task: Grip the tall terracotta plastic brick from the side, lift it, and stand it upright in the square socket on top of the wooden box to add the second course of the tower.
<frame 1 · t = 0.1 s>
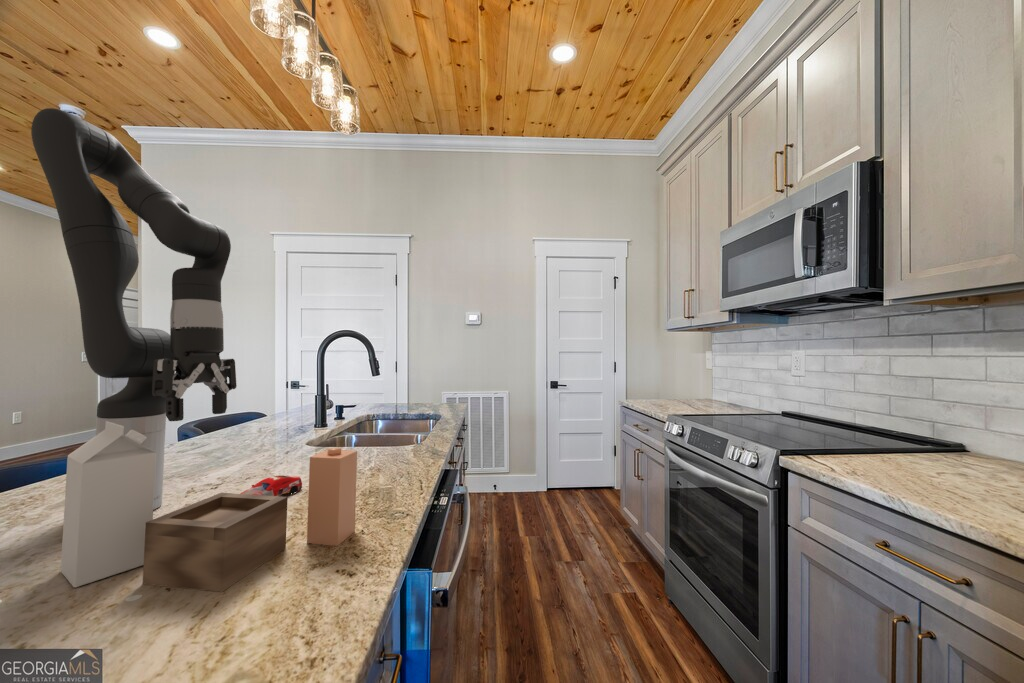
hand: (198, 417, 71), 17 cm above the countertop, tool pointing down, fingers open, 8 cm apart
milk carton: (106, 569, 53), on the countertop
race car: (269, 500, 79), on the countertop
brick: (331, 537, 62), on the countertop
wooden box: (220, 564, 54), on the countertop
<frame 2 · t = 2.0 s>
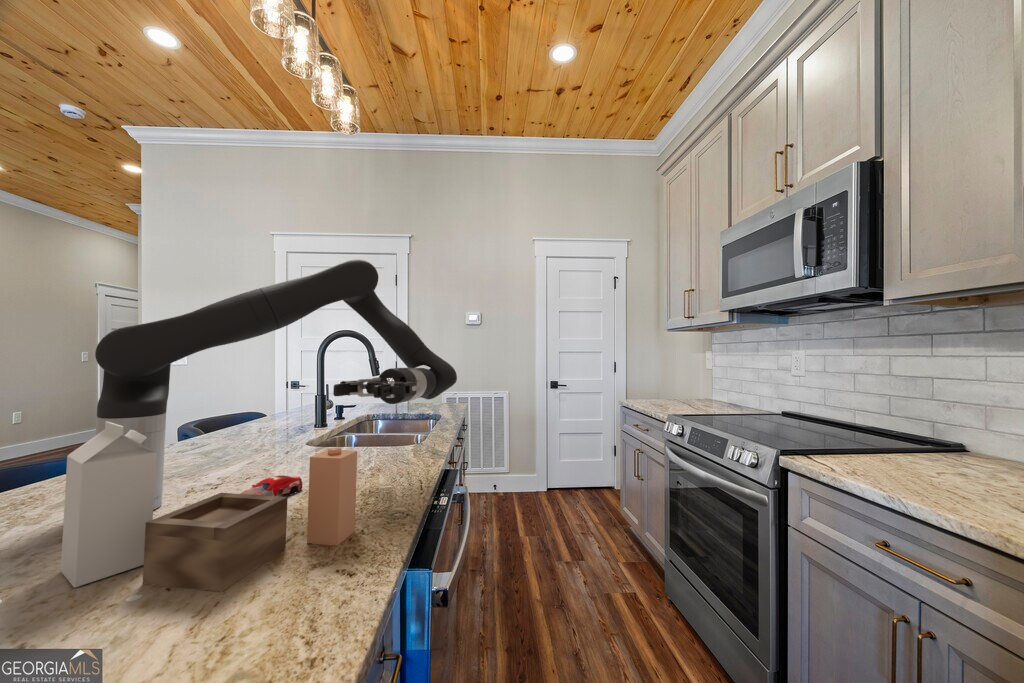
hand: (355, 391, 71), 22 cm above the countertop, tool horizontal, fingers open, 8 cm apart
nothing on the countertop moved.
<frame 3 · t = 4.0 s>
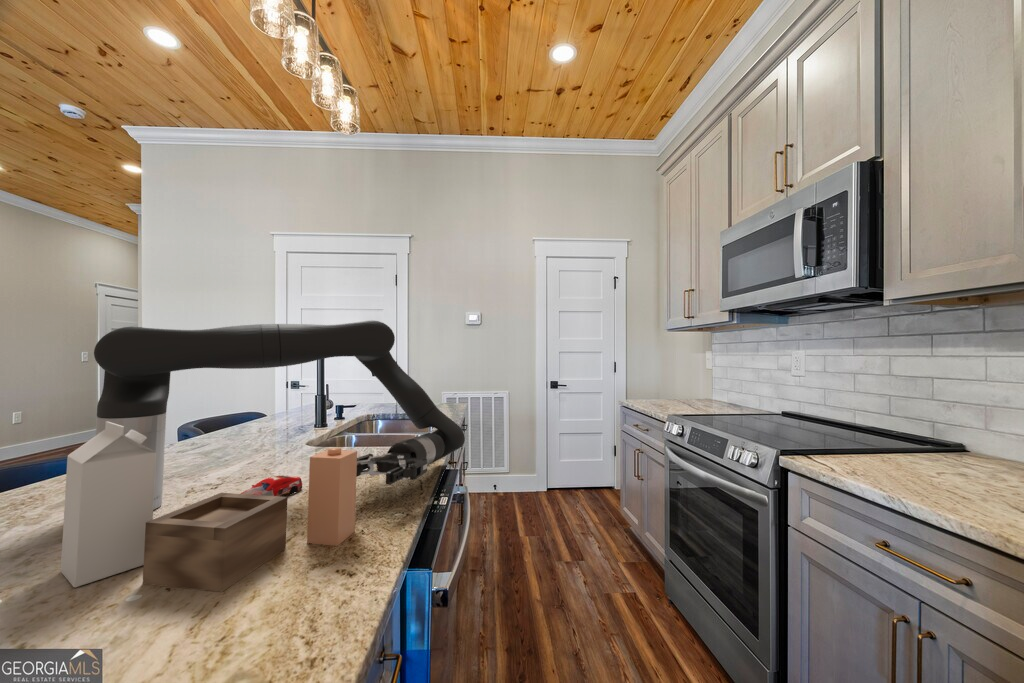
hand: (366, 476, 71), 7 cm above the countertop, tool horizontal, fingers open, 8 cm apart
nothing on the countertop moved.
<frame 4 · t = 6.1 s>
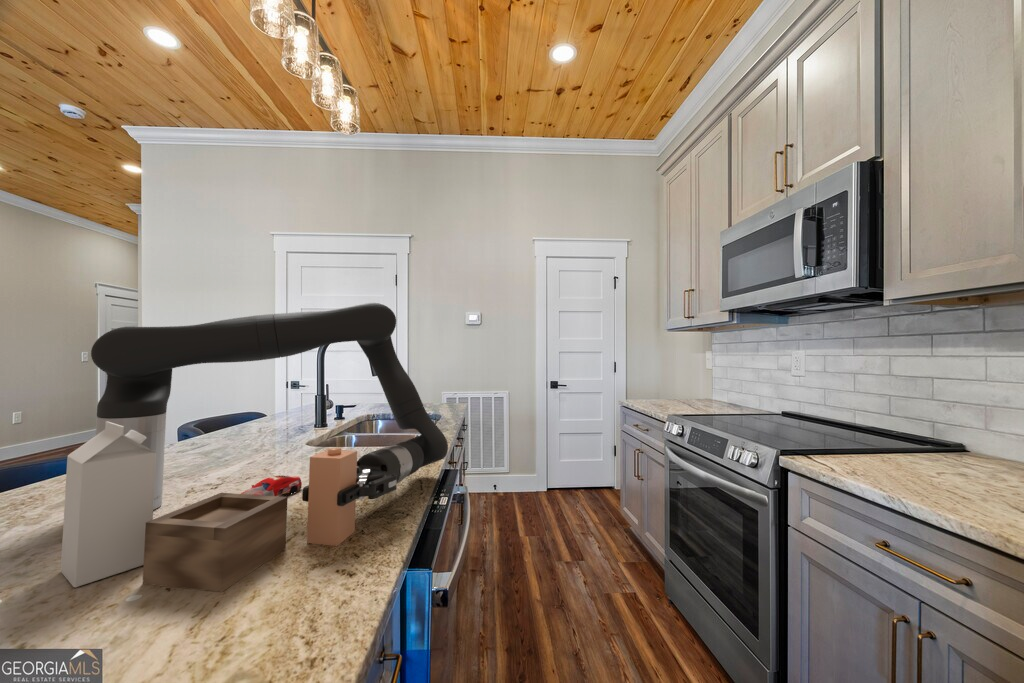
hand: (321, 497, 60), 7 cm above the countertop, tool horizontal, fingers open, 5 cm apart
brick: (331, 537, 62), on the countertop, touching gripper
everything else where it was.
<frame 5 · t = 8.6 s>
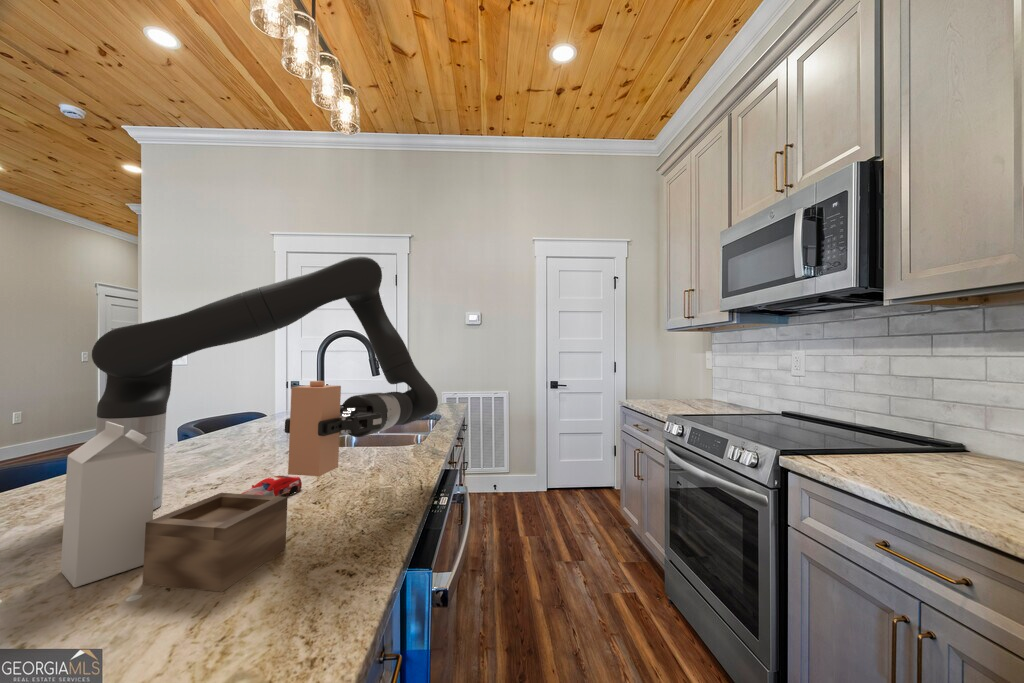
hand: (303, 427, 59), 18 cm above the countertop, tool horizontal, fingers closed on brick, 5 cm apart
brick: (313, 470, 61), point 11 cm above the countertop, touching gripper
everything else where it was.
when the fingers open (14 cm above the countertop, at t = 10.8 s): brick stays where it is, resting on wooden box.
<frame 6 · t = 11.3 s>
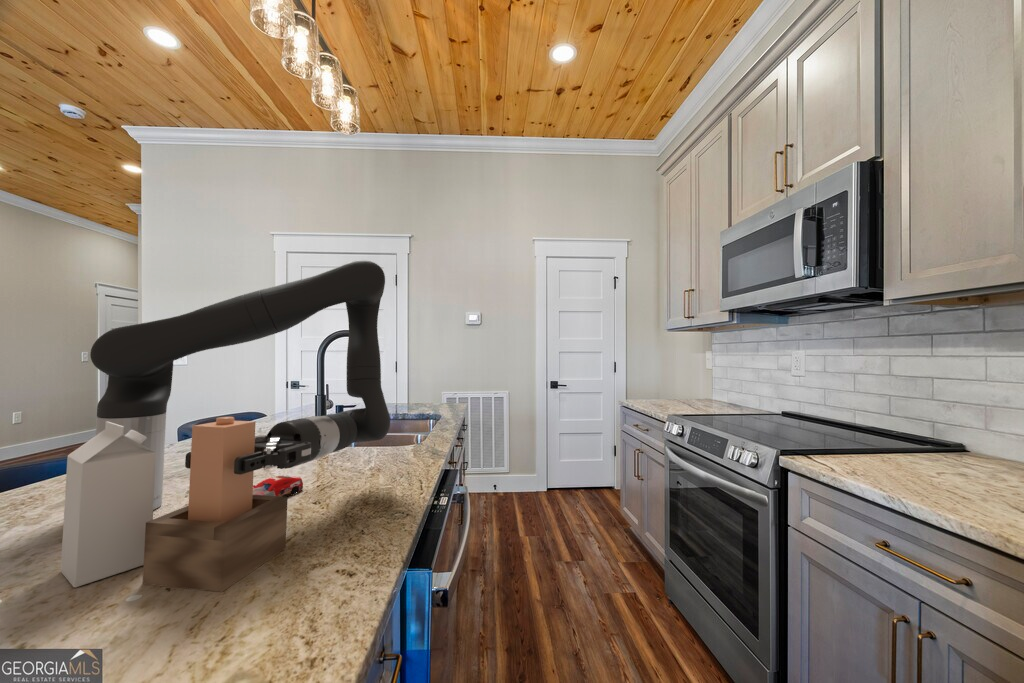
hand: (211, 463, 53), 14 cm above the countertop, tool horizontal, fingers open, 8 cm apart
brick: (220, 519, 54), point 6 cm above the countertop, touching wooden box
everything else where it was.
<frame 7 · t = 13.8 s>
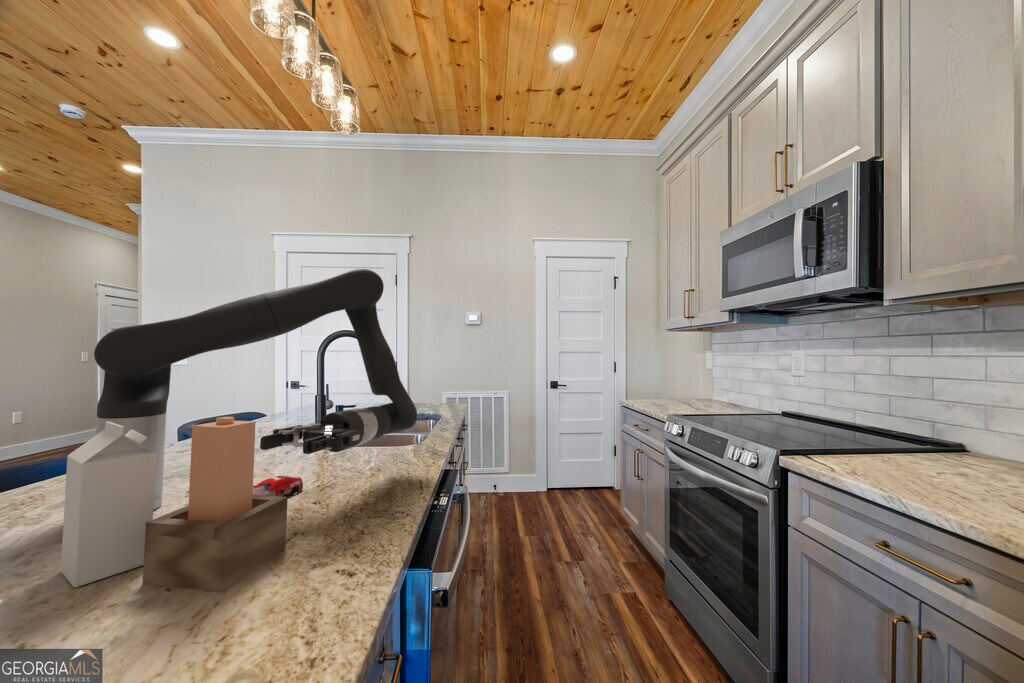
hand: (283, 445, 64), 14 cm above the countertop, tool horizontal, fingers open, 8 cm apart
nothing on the countertop moved.
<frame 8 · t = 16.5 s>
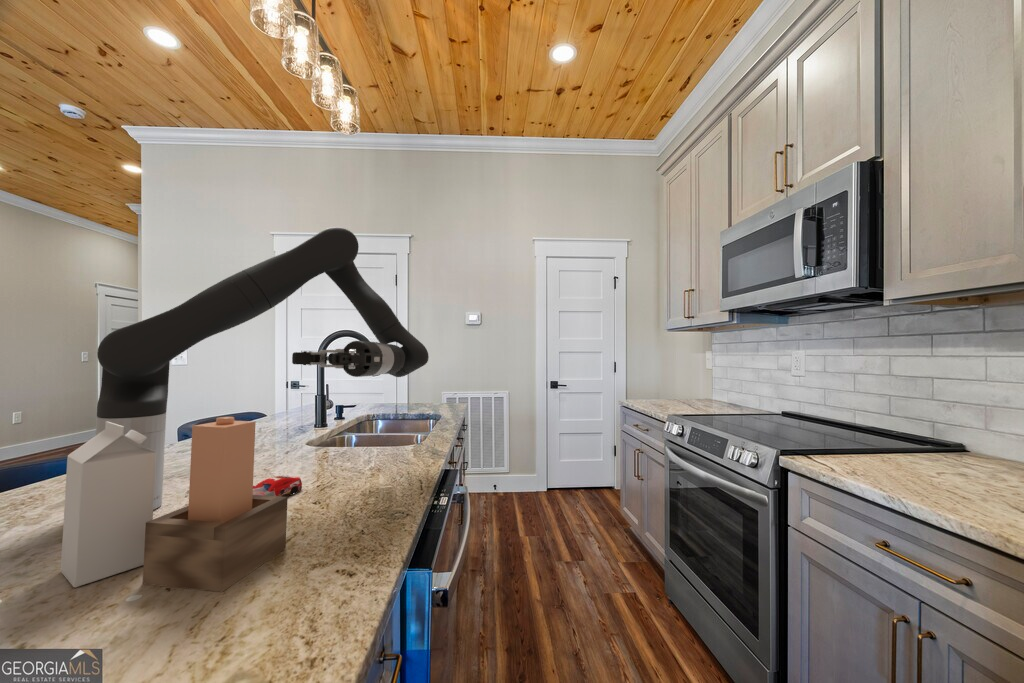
hand: (313, 358, 71), 28 cm above the countertop, tool horizontal, fingers open, 8 cm apart
nothing on the countertop moved.
at the end: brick 0.3 cm off-centre on the wooden box, point 6.0 cm above the wooden box's base; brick tilted 0°; the gripper is holding nothing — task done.
